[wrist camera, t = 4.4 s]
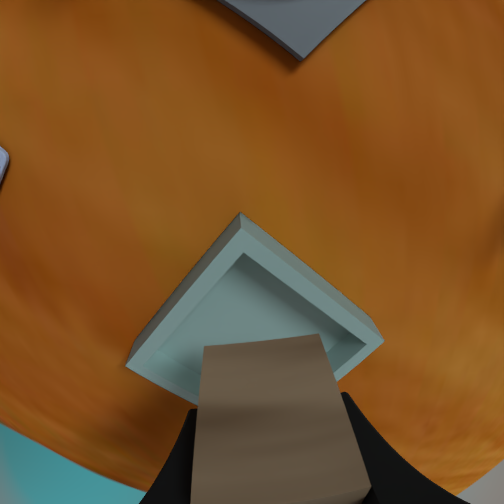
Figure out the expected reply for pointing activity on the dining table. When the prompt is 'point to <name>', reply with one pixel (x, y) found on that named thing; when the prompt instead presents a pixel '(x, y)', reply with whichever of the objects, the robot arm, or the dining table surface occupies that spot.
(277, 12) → the crank base
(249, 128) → the dining table surface
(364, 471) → the block
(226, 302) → the tray
